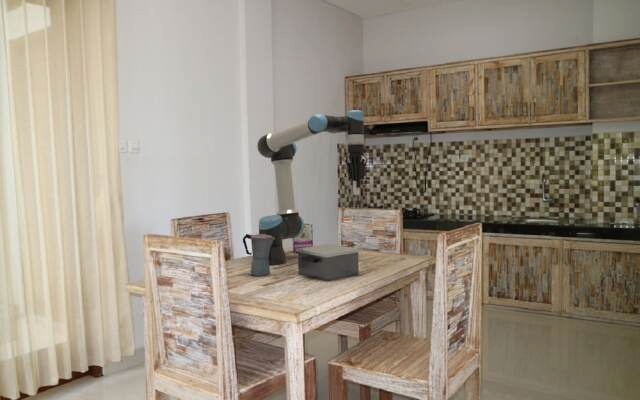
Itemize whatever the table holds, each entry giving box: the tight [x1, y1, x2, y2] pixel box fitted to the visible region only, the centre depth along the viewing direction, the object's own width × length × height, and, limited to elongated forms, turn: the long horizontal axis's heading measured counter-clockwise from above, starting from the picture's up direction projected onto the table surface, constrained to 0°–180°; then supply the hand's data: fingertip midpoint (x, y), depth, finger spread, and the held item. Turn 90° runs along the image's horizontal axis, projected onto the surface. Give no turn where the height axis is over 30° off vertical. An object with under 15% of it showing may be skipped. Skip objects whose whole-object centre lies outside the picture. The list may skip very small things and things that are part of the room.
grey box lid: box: [296, 243, 361, 257], centre depth 217 cm, size 21×19×1 cm
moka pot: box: [242, 230, 275, 277], centre depth 220 cm, size 10×15×20 cm, turn 79°
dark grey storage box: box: [297, 252, 360, 282], centre depth 217 cm, size 20×20×10 cm
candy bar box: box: [291, 222, 314, 254], centre depth 278 cm, size 11×5×16 cm, turn 102°
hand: (356, 194), depth 230 cm, fingers closed
